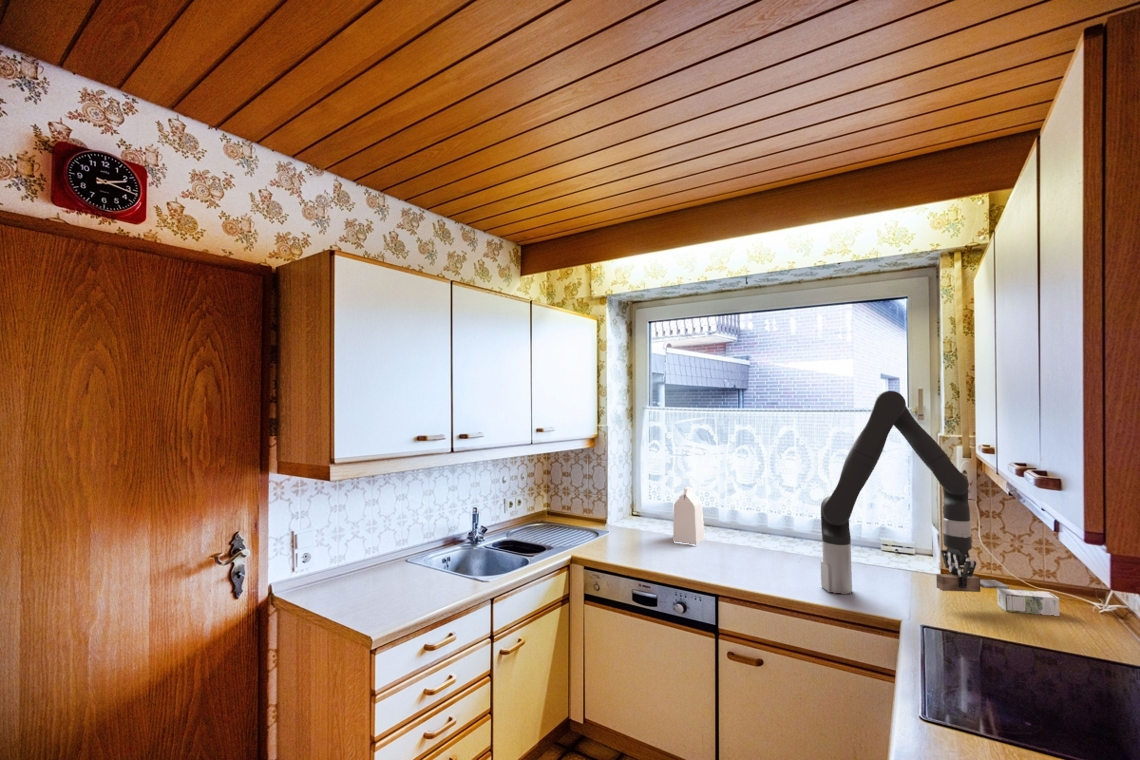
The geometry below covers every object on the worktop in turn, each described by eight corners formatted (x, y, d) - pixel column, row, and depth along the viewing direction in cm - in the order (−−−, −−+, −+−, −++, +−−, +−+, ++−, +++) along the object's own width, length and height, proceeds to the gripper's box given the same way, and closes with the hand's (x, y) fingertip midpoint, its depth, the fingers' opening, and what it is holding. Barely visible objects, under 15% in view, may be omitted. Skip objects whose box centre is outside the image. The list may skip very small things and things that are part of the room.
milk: (696, 546, 248) (695, 490, 249) (673, 543, 254) (672, 488, 255) (704, 540, 258) (703, 486, 259) (682, 537, 264) (681, 484, 265)
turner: (945, 592, 171) (945, 578, 171) (933, 585, 177) (933, 572, 177) (1009, 594, 170) (1009, 580, 170) (994, 587, 176) (994, 574, 176)
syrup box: (997, 605, 175) (1049, 609, 171) (1006, 612, 170) (1061, 616, 166) (996, 587, 176) (1049, 591, 172) (1005, 594, 170) (1060, 598, 166)
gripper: (931, 527, 181) (933, 578, 181) (960, 538, 167) (962, 594, 167) (954, 527, 181) (955, 578, 181) (984, 538, 167) (986, 594, 167)
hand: (959, 585), depth 174 cm, fingers closed on turner, 3 cm apart
